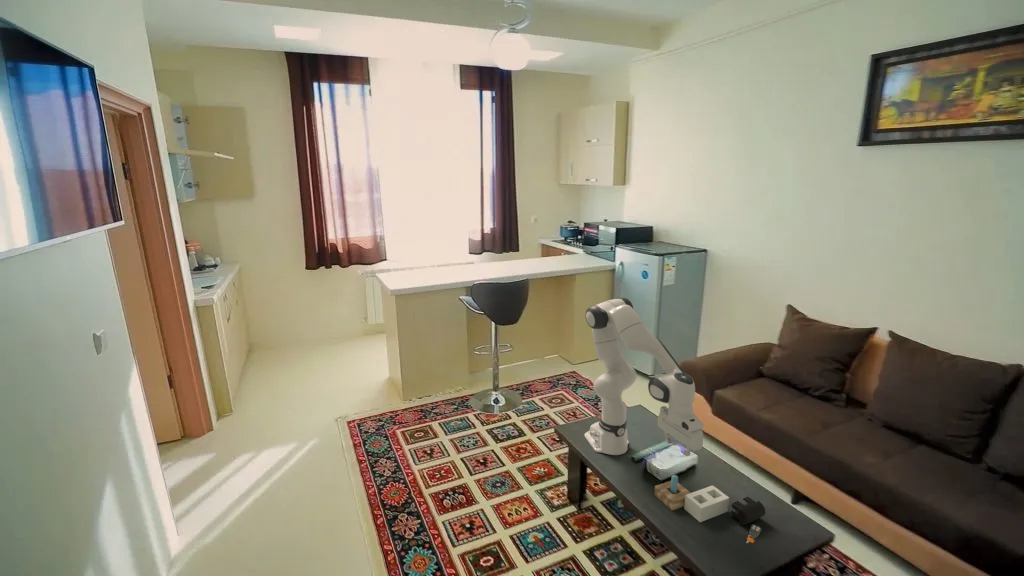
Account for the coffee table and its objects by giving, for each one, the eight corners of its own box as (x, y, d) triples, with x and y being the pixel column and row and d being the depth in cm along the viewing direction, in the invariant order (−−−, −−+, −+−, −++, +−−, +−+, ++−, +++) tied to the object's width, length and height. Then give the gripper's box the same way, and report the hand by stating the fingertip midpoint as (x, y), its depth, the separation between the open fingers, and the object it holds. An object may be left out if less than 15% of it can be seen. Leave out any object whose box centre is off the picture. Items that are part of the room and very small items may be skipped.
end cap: (745, 530, 166) (748, 514, 165) (729, 517, 172) (731, 502, 171) (764, 521, 170) (766, 505, 169) (747, 509, 177) (749, 494, 175)
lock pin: (668, 497, 183) (670, 475, 181) (673, 496, 184) (675, 474, 182) (672, 501, 181) (674, 479, 178) (677, 500, 182) (679, 477, 179)
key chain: (750, 525, 169) (751, 522, 169) (761, 530, 167) (762, 527, 166) (740, 546, 159) (741, 543, 159) (752, 552, 157) (753, 548, 157)
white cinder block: (684, 508, 177) (685, 495, 176) (711, 498, 183) (712, 485, 181) (700, 522, 170) (701, 508, 169) (727, 511, 176) (729, 497, 174)
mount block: (654, 494, 185) (654, 486, 184) (673, 488, 189) (674, 479, 188) (672, 510, 176) (672, 501, 175) (691, 503, 180) (692, 494, 179)
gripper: (654, 405, 182) (652, 437, 185) (694, 430, 164) (691, 464, 167) (667, 402, 184) (664, 433, 188) (707, 426, 166) (704, 460, 169)
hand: (677, 448), depth 177 cm, fingers open, 8 cm apart
